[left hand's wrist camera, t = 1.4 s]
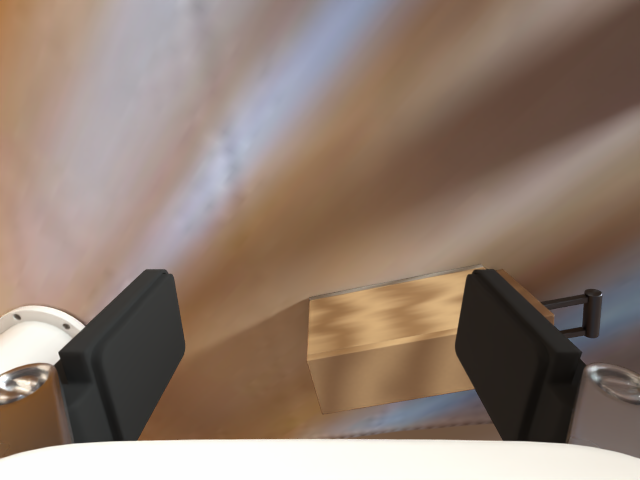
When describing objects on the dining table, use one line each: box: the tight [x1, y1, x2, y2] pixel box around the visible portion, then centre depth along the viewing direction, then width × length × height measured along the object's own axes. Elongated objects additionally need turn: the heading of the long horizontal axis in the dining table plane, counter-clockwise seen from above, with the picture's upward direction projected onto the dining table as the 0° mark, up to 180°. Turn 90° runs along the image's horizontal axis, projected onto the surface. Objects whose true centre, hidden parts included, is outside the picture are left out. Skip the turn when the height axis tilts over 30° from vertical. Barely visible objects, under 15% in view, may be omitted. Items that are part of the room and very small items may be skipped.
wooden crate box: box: [307, 264, 485, 414], centre depth 36 cm, size 20×6×11 cm, turn 102°
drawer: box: [496, 269, 602, 338], centre depth 36 cm, size 24×5×9 cm, turn 102°
